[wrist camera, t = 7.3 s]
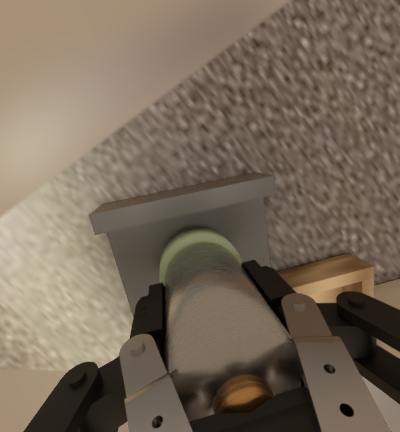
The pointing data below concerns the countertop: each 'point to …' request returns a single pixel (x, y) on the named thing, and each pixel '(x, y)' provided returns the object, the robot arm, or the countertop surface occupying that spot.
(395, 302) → the cup
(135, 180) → the countertop surface
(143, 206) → the cradle
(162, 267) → the pale green disc
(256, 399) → the cell
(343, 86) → the countertop surface
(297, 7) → the countertop surface
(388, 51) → the countertop surface
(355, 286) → the wooden tray
